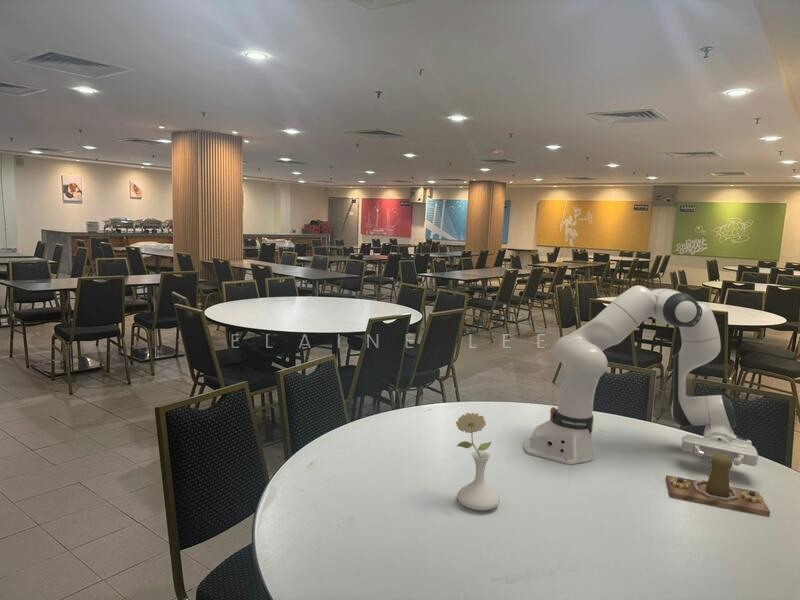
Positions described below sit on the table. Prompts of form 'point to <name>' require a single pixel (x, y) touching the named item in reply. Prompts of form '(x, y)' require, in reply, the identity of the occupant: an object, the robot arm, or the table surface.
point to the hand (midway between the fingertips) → (718, 458)
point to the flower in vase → (477, 491)
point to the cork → (719, 476)
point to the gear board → (696, 493)
